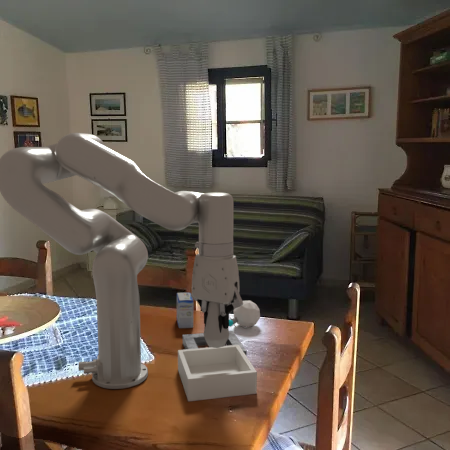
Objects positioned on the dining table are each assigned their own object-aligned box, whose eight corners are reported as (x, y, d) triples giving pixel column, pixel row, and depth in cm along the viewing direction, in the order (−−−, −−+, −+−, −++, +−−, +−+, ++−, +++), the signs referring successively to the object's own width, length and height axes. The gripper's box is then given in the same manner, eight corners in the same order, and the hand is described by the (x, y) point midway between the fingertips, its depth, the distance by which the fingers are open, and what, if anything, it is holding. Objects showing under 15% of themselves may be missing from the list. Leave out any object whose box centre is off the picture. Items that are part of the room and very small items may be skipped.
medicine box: (176, 319, 150) (176, 292, 149) (190, 318, 151) (190, 291, 150) (178, 328, 143) (178, 300, 141) (193, 327, 144) (193, 299, 142)
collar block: (191, 365, 118) (191, 356, 118) (182, 343, 132) (182, 334, 132) (246, 360, 122) (246, 351, 121) (232, 339, 135) (232, 330, 135)
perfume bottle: (270, 315, 144) (243, 331, 136) (254, 325, 150) (227, 340, 141) (257, 292, 145) (229, 306, 137) (241, 302, 151) (214, 316, 143)
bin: (188, 401, 102) (188, 379, 101) (177, 369, 116) (177, 350, 115) (256, 393, 105) (256, 371, 105) (238, 363, 120) (238, 344, 119)
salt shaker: (234, 346, 109) (234, 289, 107) (212, 351, 105) (212, 294, 103) (220, 337, 113) (220, 283, 111) (199, 342, 110) (198, 287, 108)
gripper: (175, 248, 107) (177, 327, 110) (240, 256, 99) (239, 342, 101) (195, 242, 113) (196, 318, 116) (257, 250, 105) (256, 331, 108)
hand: (216, 328), depth 109 cm, fingers closed on salt shaker, 3 cm apart
